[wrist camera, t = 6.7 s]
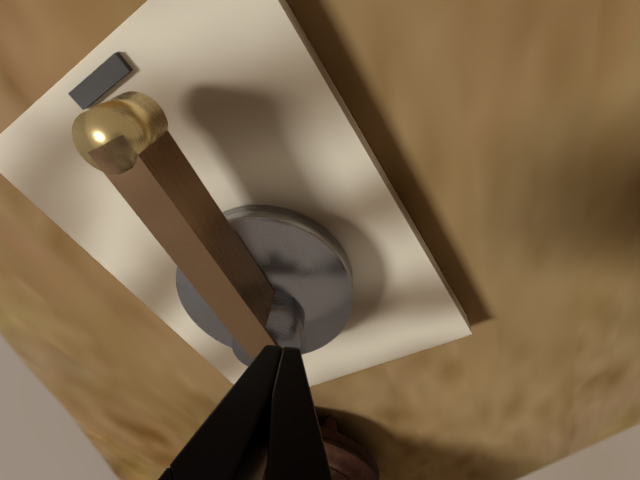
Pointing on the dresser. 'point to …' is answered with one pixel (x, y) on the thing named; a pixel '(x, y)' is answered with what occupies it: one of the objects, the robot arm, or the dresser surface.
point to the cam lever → (221, 238)
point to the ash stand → (238, 171)
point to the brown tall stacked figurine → (345, 456)
